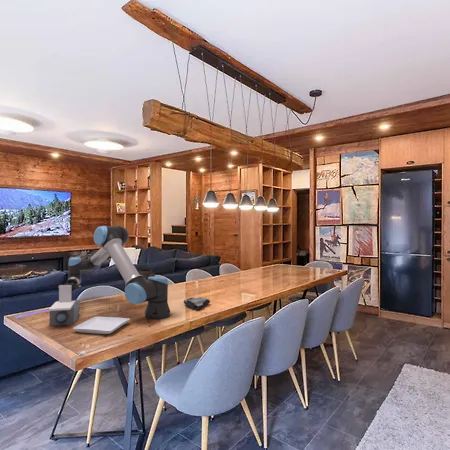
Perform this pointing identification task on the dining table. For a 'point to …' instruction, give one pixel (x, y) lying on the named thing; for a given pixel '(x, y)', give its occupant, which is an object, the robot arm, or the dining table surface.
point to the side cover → (63, 299)
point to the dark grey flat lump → (196, 302)
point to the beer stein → (146, 273)
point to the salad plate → (101, 325)
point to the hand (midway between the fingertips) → (64, 291)
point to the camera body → (65, 315)
